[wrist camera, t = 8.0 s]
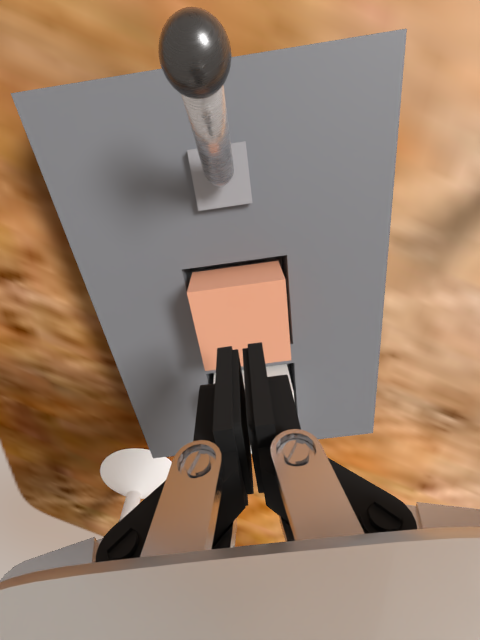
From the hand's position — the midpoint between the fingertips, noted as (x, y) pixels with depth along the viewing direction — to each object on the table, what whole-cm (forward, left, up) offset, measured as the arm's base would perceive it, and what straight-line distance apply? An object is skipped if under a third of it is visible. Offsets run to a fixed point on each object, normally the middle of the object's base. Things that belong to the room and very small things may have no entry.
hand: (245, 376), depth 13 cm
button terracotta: (0, 0, -6) cm, 6 cm away
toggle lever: (+6, 0, -5) cm, 8 cm away
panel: (0, 0, -9) cm, 9 cm away
